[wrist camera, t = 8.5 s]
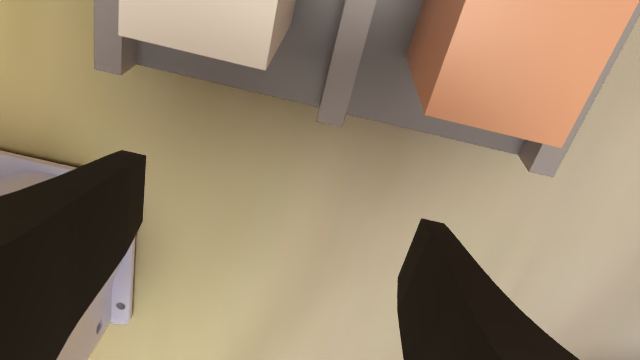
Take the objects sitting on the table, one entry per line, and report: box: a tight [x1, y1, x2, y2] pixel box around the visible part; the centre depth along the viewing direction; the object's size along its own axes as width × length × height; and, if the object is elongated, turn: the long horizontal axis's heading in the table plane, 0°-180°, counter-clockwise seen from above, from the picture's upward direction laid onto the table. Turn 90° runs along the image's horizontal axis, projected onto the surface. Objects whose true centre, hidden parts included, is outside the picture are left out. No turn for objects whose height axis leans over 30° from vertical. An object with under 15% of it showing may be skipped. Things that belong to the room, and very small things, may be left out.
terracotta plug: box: [406, 0, 640, 148], centre depth 15 cm, size 6×4×6 cm, turn 167°
